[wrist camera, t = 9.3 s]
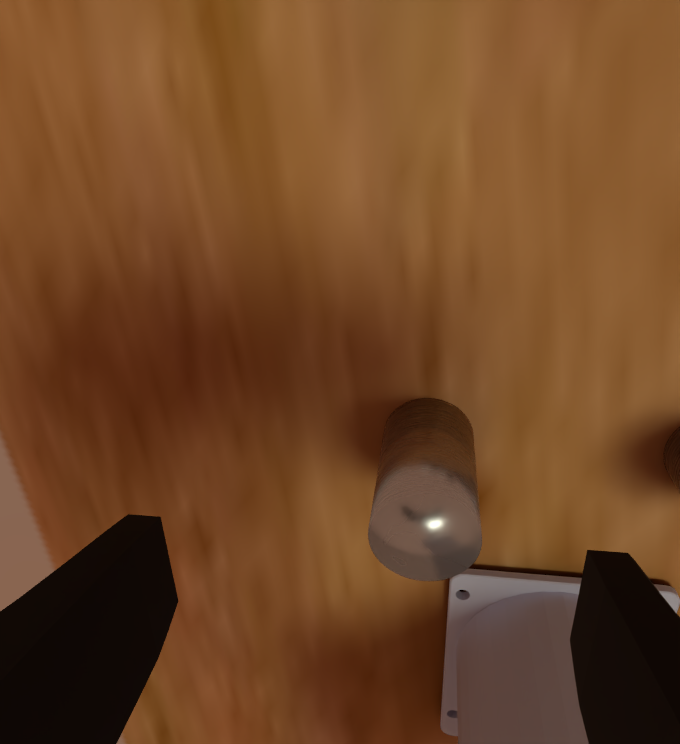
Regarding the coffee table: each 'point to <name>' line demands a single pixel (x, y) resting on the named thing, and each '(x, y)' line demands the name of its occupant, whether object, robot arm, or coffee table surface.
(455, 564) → the cylinder
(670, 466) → the cylinder
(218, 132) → the coffee table surface
